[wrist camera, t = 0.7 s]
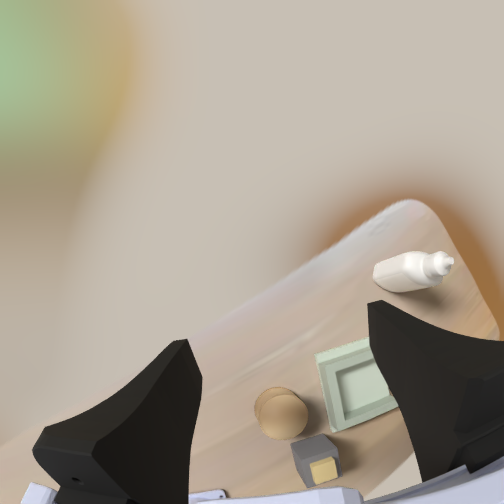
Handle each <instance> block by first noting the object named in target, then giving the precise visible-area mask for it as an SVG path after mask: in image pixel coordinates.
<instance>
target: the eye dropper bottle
mask: <svg viewBox="0 0 504 504" xmlns="http://www.w3.org/2000/svg"><path fill="white" fill-rule="evenodd" d="M453 263H454V259H453V258H452V257H449V256H448V255H447V254H446V253H445V252H443V251H439V252H436V253H433V254H428V253H425V252H420V251H411V252H406V253H403V254H400V255H397V256H395V257H392V258H389V259H387V260H384V261H381V262H379V263H377V264H376V265H375V267H374V272H373V280H374V282H375V283H376V284H377V285H379V286H380V287H382V288H383V289H385V290H388V291H391V292H407V291H413V290H418V289H423V288H428V287H433V286H437V285H439V284H440V283H441V282H442V279H443V276H445V275H447V274H448V273H449V271H450V269H451V265H452V264H453Z"/></svg>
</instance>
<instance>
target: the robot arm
mask: <svg viewBox="0 0 504 504" xmlns="http://www.w3.org/2000/svg"><path fill="white" fill-rule="evenodd" d="M367 306H368V324H369V346H370V348H371V351H372V354H373V357H374V359H375V362H376V364H377V366H378V368H379V370H380V372H381V374H382V376H383V378H384V379H385V381H386V383H387V385H388V387H389V389H390V391H391V392H392V394H393V396H394V398H395V400H396V402H397V404H398V406H399V408H400V410H401V413H402V415H403V418H404V421H405V424H406V426H407V429H408V432H409V435H410V438H411V442H412V445H413V448H414V451H415V455H416V459H417V462H418V466H419V470H420V474H421V478H422V483H420V484H418V485H415V486H412V487H409V488H406V489H403V490H401V491H398V492H395V493H391V494H388V495H385V496H382V497H378V498H375V499H371V500H368V501H364V500H363V496H362V495H361V494H360V492H359V491H358V490H356V489H353V488H347V487H341V486H334V487H323V488H315V489H309V490H303V491H297V492H290V493H282V494H274V495H264V496H253V497H239V498H226V495H225V492H224V491H223V490H221V489H219V490H213V491H207V492H200V493H193V494H189V465H190V452H191V444H192V439H193V434H194V429H195V425H196V420H197V416H198V411H199V406H200V401H201V394H202V375H201V372H200V370H199V367H198V365H197V362H196V360H195V357H194V355H193V352H192V350H191V347H190V345H189V342H188V339H183V340H176V341H173V342H172V343H170V344H169V345H168V346H167V347H166V348H165V349H164V350H163V351H162V352H161V353H160V354H159V355H158V356H157V357H156V358H155V359H154V360H153V361H152V362H151V363H150V364H149V365H148V366H147V367H146V368H145V369H144V370H143V371H142V372H140V373H139V374H138V375H137V376H136V377H135V378H134V379H133V380H132V381H130V382H129V383H128V384H127V385H126V386H124V387H123V388H122V389H121V390H119V391H118V392H116V393H115V394H114V395H112V396H111V397H109V398H108V399H106V400H105V401H103V402H101V403H100V404H98V405H96V406H95V407H93V408H91V409H89V410H87V411H85V412H83V413H81V414H79V415H77V416H75V417H72V418H70V419H67V420H65V421H62V422H59V423H56V424H53V425H50V426H47V427H45V428H44V430H43V431H42V433H41V435H40V437H39V438H38V440H37V442H36V443H35V445H34V447H33V449H32V451H33V455H34V457H35V459H36V461H37V462H38V463H39V465H40V466H41V467H42V468H43V469H44V470H45V471H46V472H47V473H48V474H49V475H50V476H51V477H52V478H53V479H54V480H55V481H56V482H57V483H58V484H59V485H60V486H61V487H60V489H59V491H58V492H57V491H56V490H54V489H52V488H49V487H46V486H43V485H40V484H37V483H33V482H31V483H30V485H29V487H28V489H27V491H26V493H25V495H24V497H23V499H22V501H21V503H20V504H504V341H495V340H486V339H479V338H474V337H469V336H464V335H460V334H457V333H453V332H450V331H447V330H444V329H441V328H439V327H436V326H434V325H431V324H429V323H427V322H424V321H422V320H420V319H418V318H416V317H414V316H412V315H410V314H408V313H406V312H404V311H402V310H400V309H398V308H397V307H395V306H393V305H391V304H389V303H387V302H385V301H383V300H379V301H375V302H372V303H368V304H367ZM220 495H222V496H223V497H220Z"/></svg>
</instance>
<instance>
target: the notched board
mask: <svg viewBox="0 0 504 504" xmlns="http://www.w3.org/2000/svg"><path fill="white" fill-rule="evenodd" d="M314 356H315V360H316V365H317V369H318V374H319V378H320V383H321V387H322V392H323V396H324V401H325V406H326V411H327V415H328V420H329V425H330V430H331V431H332V432H333V433H334V432H337V431H341V430H344V429H346V428H349V427H351V426H354V425H357V424H359V423H361V422H364V421H366V420H369V419H371V418H374V417H376V416H378V415H380V414H383V413H385V412H387V411H389V410H392V409H394V408H396V407H398V404H397V402H396V400H395V398H394V397H393V396H391V395H389V389H388V385H387V383H386V381H385V379H384V378H383V376H382V374H381V372H380V370H379V368H378V366H377V364H376V362H375V359H374V357H373V354H372V351H371V348H370V346H369V336H368V337H365V338H362V339H359V340H356V341H353V342H350V343H347V344H344V345H341V346H338V347H335V348H332V349H329V350H326V351H322V352H319V353H316V354H314Z"/></svg>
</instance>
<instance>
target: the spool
mask: <svg viewBox="0 0 504 504" xmlns="http://www.w3.org/2000/svg"><path fill="white" fill-rule="evenodd" d="M255 415H256V417H257V419H258V421H259V424H260V427H261V429H262V431H263V432H264V433H265V434H266V435H267V436H269V437H270V438H273V439H276V440H287V439H291V438H293V437H295V436H297V435H298V434H300V433H301V432H302V431H303V429H304V428H305V426H306V424H307V421H308V410H307V408H306V406H305V404H304V403H303V402H302V401H301V400H300V399H299V398H297V396H296V395H295V394H294V393H293V392H291V391H290V390H288V389H286V388H281V387H275V388H271V389H268V390H266V391H265V392H263V393H262V394H261V395H260V396H259V397H258V399H257V401H256V403H255Z"/></svg>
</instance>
